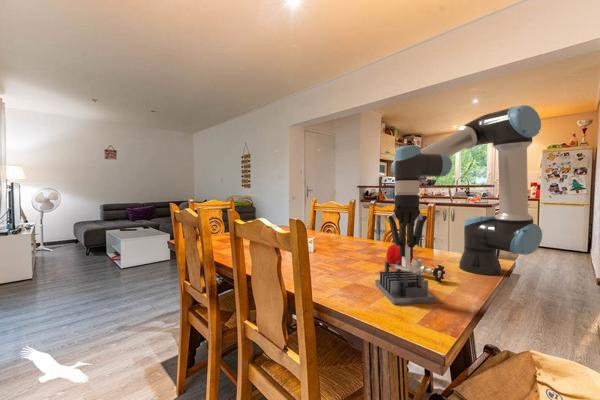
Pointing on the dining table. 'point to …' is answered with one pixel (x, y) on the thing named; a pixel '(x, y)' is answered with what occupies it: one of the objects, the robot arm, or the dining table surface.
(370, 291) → the dining table surface
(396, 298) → the heatsink
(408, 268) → the grey long bar
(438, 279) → the valve
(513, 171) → the robot arm
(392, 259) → the tomato
